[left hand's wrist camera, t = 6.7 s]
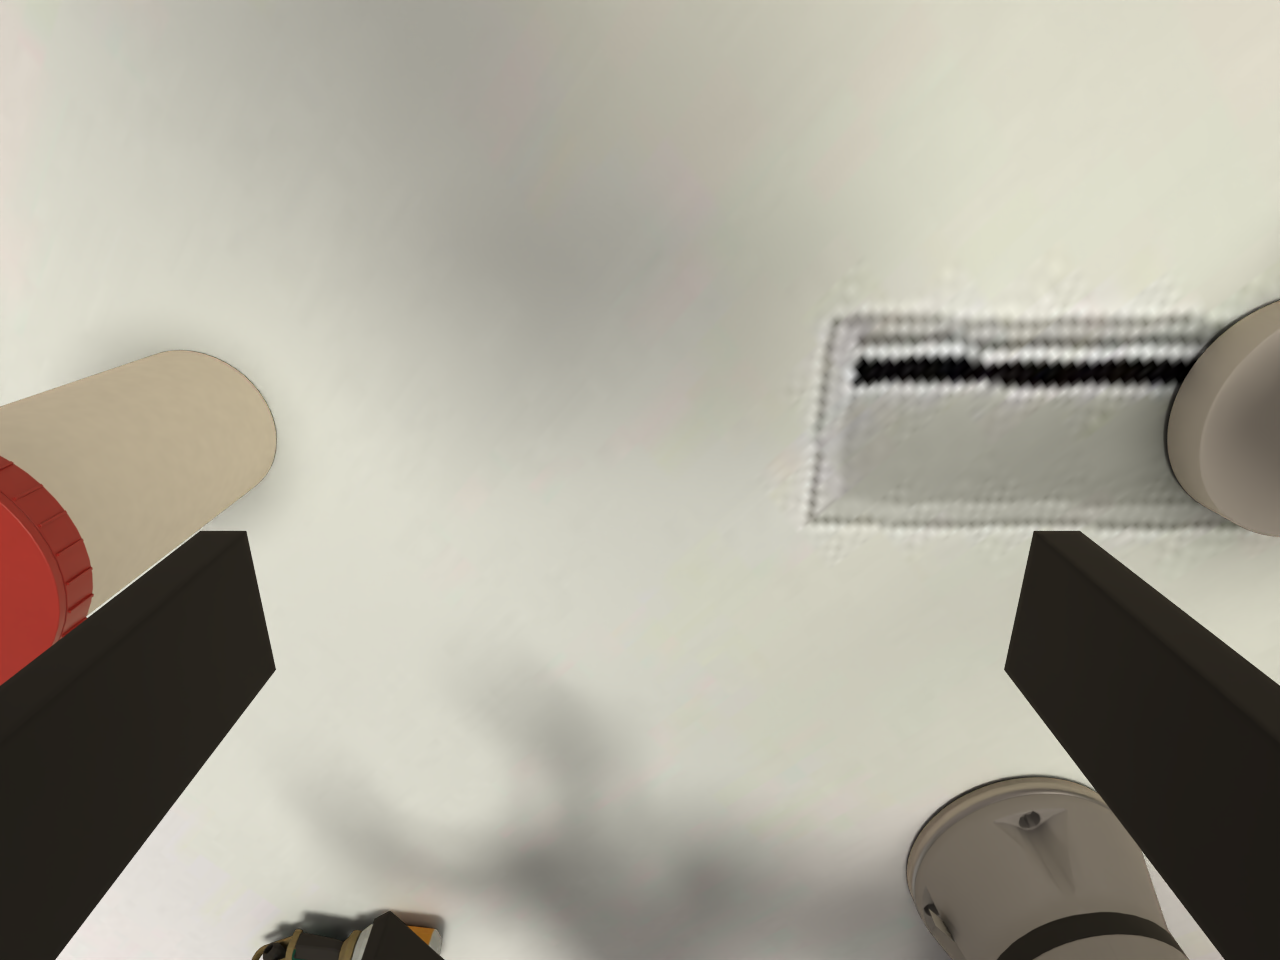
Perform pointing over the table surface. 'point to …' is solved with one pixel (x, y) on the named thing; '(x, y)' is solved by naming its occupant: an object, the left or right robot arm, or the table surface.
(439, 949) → the spray gun
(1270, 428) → the bust sculpture
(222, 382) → the jar
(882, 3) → the table surface
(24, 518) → the lid
